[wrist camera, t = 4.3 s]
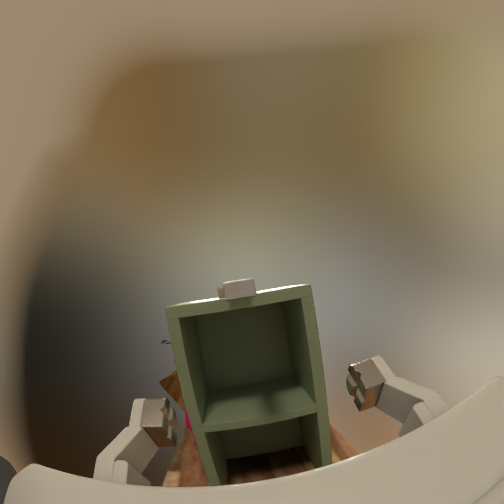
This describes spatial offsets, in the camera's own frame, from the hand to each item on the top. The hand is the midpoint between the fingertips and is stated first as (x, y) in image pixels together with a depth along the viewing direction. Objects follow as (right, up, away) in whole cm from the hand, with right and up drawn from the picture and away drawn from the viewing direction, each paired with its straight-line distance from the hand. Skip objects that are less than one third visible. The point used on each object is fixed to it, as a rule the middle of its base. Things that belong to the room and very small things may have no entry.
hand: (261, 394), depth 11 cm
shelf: (+2, -23, +17) cm, 29 cm away
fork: (-2, +2, +15) cm, 16 cm away
